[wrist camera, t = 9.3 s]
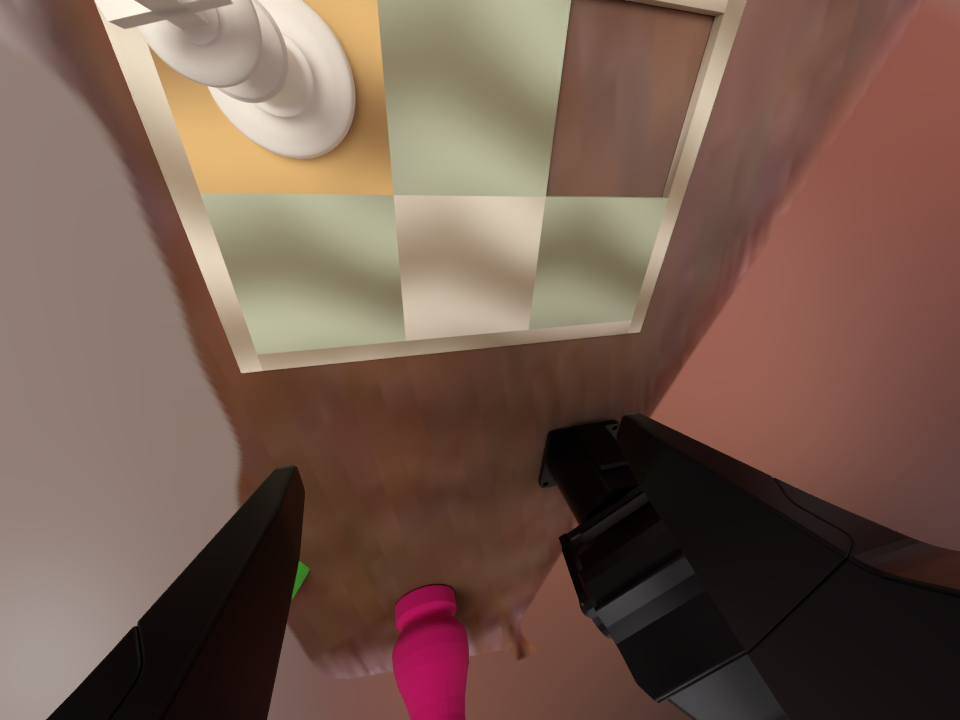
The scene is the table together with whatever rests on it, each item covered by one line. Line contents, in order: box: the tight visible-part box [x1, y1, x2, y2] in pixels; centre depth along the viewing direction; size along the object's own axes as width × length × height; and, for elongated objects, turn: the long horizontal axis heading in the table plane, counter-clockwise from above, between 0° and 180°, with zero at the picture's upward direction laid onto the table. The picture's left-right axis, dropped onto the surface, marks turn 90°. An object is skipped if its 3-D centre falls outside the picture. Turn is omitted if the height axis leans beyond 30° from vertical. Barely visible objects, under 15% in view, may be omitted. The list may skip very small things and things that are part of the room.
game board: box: [94, 0, 747, 373], centre depth 17 cm, size 17×24×1 cm
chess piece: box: [95, 0, 356, 159], centre depth 9 cm, size 5×5×10 cm
